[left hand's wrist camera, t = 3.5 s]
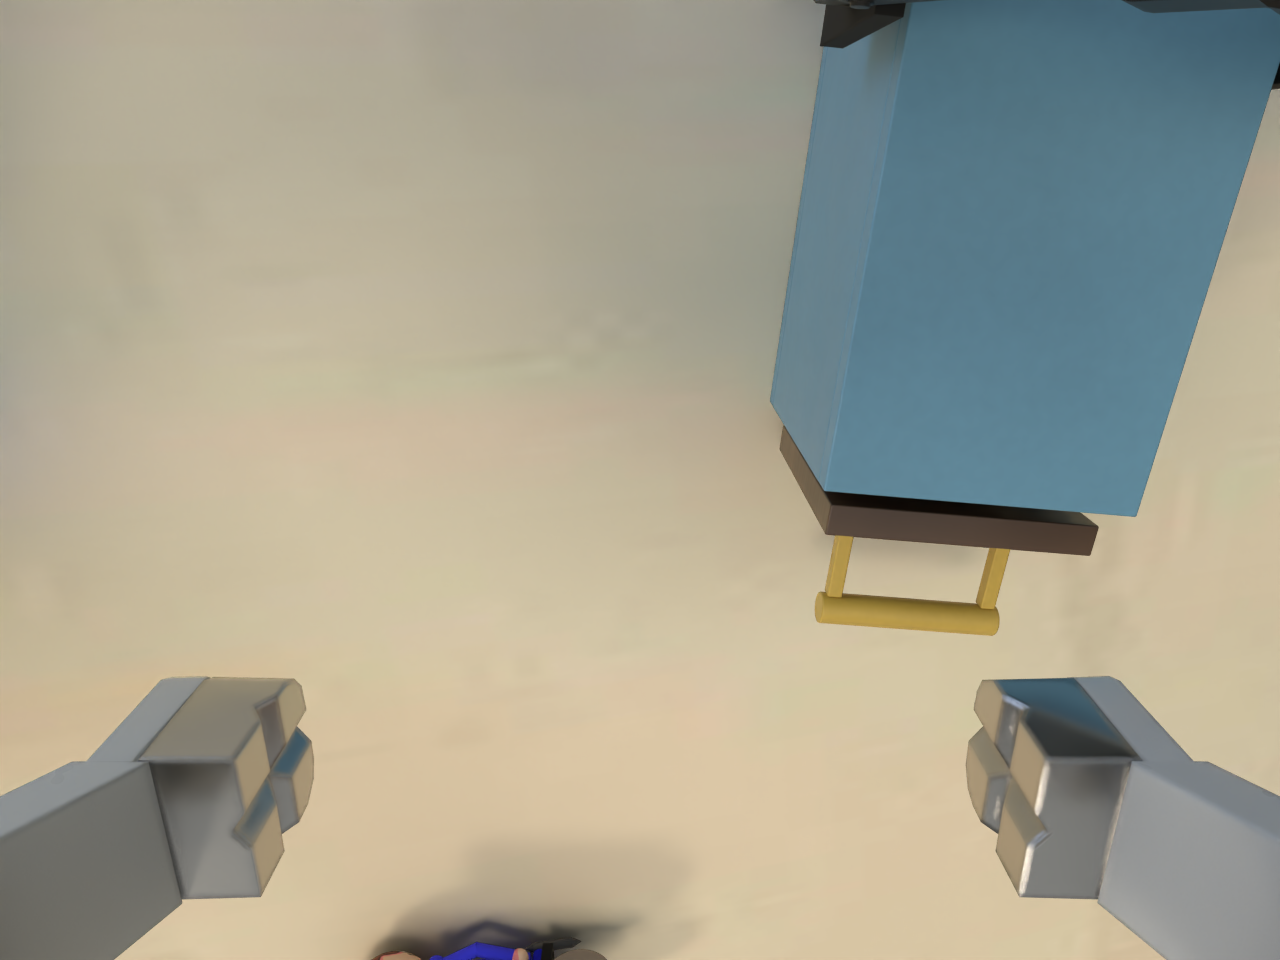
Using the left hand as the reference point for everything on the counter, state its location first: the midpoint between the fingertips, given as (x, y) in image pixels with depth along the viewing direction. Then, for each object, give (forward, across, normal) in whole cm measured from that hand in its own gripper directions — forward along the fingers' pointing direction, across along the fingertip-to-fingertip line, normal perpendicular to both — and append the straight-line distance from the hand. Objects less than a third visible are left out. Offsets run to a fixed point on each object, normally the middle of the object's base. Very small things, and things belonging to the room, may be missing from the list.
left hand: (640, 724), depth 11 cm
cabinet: (+31, -12, -5) cm, 33 cm away
